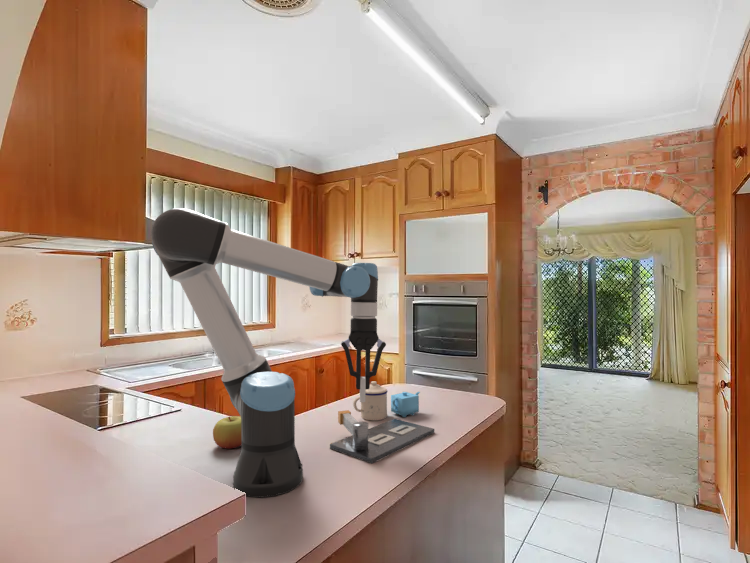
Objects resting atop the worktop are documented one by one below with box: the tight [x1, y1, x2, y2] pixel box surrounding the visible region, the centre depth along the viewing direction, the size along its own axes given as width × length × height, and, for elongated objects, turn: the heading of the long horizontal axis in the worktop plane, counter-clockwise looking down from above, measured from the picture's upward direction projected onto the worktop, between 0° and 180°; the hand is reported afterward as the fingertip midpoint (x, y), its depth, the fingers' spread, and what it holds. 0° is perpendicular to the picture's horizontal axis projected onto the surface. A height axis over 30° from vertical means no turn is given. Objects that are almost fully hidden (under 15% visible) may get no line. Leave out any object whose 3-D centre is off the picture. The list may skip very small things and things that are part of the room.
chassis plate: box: [329, 418, 435, 464], centre depth 120 cm, size 28×15×2 cm, turn 139°
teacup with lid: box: [352, 381, 388, 421], centre depth 141 cm, size 12×9×12 cm
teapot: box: [390, 391, 421, 418], centre depth 145 cm, size 12×6×8 cm, turn 125°
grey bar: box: [337, 409, 369, 450], centre depth 118 cm, size 18×4×6 cm, turn 20°
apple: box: [212, 415, 242, 450], centre depth 118 cm, size 10×10×8 cm
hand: (362, 400), depth 121 cm, fingers closed
